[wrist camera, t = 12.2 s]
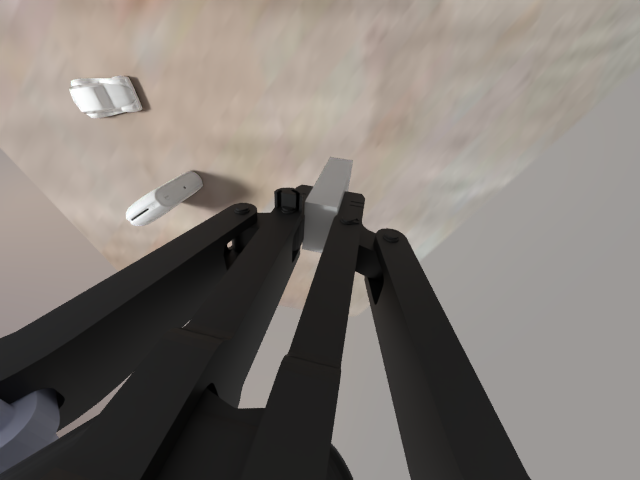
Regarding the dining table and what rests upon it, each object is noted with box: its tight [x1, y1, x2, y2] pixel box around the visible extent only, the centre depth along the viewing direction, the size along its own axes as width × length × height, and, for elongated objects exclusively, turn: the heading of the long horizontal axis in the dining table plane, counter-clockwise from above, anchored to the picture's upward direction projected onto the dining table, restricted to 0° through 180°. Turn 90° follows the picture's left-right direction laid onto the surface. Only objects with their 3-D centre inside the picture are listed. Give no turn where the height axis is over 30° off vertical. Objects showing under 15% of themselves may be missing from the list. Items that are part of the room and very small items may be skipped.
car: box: [69, 76, 142, 118], centre depth 43 cm, size 12×6×5 cm, turn 96°
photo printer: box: [126, 171, 203, 226], centre depth 47 cm, size 10×4×12 cm, turn 121°
